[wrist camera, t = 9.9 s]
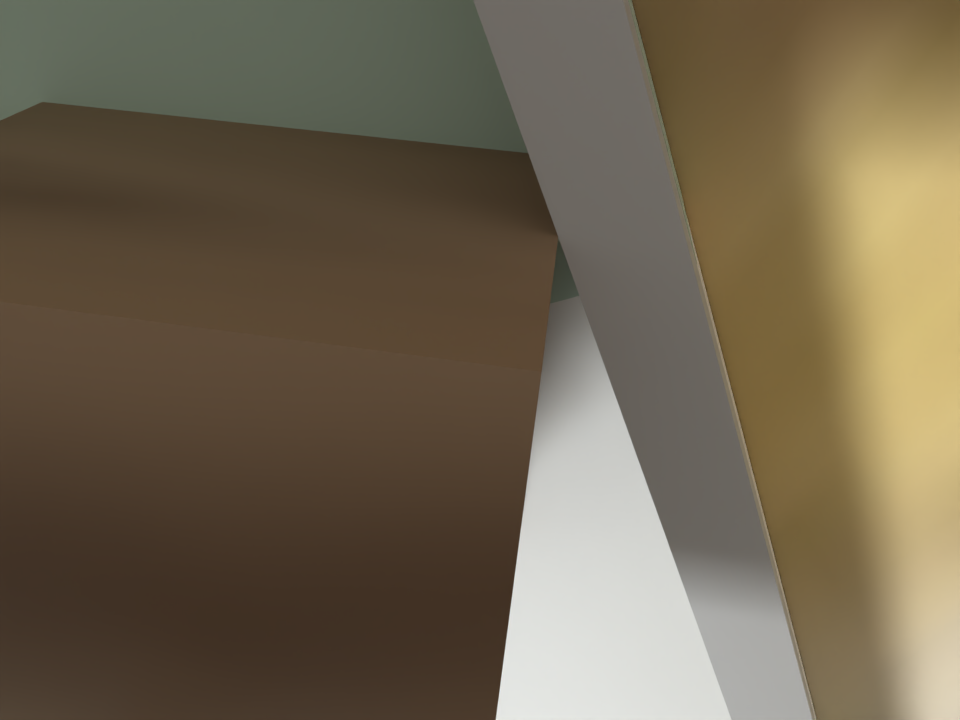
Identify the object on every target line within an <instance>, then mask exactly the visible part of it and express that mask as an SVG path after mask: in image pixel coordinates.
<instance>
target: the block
mask: <svg viewBox="0 0 960 720" xmlns="http://www.w3.org/2000/svg"><path fill="white" fill-rule="evenodd" d="M557 243H558V235H557V232H556V229H555V226H554V224H553V221H552V218H551V215H550V213H549V210H548V207H547V204H546V201H545V199H544V196H543V193H542V190H541V187H540V185H539V182H538V179H537V176H536V174H535V171H534V168H533V165H532V162H531V160H530V157H529V154H528V153H522V152H513V151H503V150H494V149H484V148H475V147H465V146H456V145H446V144H437V143H427V142H418V141H408V140H399V139H389V138H380V137H370V136H361V135H351V134H342V133H332V132H323V131H314V130H304V129H295V128H285V127H276V126H266V125H257V124H247V123H238V122H228V121H219V120H209V119H200V118H190V117H181V116H171V115H162V114H152V113H143V112H133V111H124V110H114V109H105V108H95V107H86V106H76V105H67V104H57V103H48V102H41V103H39V104H36V105H34V106H32V107H30V108H27V109H25V110H23V111H21V112H18V113H16V114H14V115H12V116H9V117H7V118H5V119H3V120H0V720H496V714H497V707H498V699H499V691H500V684H501V676H502V669H503V661H504V653H505V646H506V638H507V631H508V623H509V615H510V608H511V600H512V593H513V585H514V577H515V570H516V562H517V555H518V547H519V539H520V532H521V524H522V517H523V509H524V501H525V494H526V486H527V479H528V471H529V463H530V456H531V448H532V441H533V433H534V425H535V418H536V410H537V403H538V395H539V388H540V380H541V372H542V364H543V356H544V348H545V340H546V332H547V324H548V316H549V308H550V299H551V291H552V283H553V275H554V267H555V259H556V251H557Z"/></svg>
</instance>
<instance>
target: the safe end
mask: <svg viewBox="0 0 960 720" xmlns="http://www.w3.org/2000/svg"><path fill="white" fill-rule="evenodd" d="M628 2H629V6H630V9H631V13H632V17H633V21H634V25H635V29H636V33H637V36H638V40H639V44H640V48H641V52H642V56H643V59H644V63H645V67H646V71H647V75H648V79H649V83H650V86H651V90H652V94H653V98H654V102H655V106H656V109H657V113H658V117H659V121H660V125H661V129H662V133H663V136H664V140H665V144H666V148H667V152H668V156H669V159H670V163H671V167H672V171H673V175H674V179H675V183H676V186H677V190H678V194H679V198H680V202H681V206H682V209H683V213H684V217H685V221H686V225H687V229H688V233H689V236H690V240H691V244H692V248H693V252H694V247H693V243H692V238H691V234H690V229H689V225H688V220H687V216H686V211H685V207H684V202H683V198H682V194H681V190H680V186H679V182H678V178H677V174H676V171H675V167H674V163H673V159H672V155H671V151H670V147H669V143H668V139H667V136H666V132H665V128H664V124H663V120H662V116H661V112H660V108H659V105H658V101H657V97H656V93H655V89H654V85H653V81H652V77H651V74H650V70H649V66H648V62H647V58H646V54H645V50H644V46H643V43H642V39H641V35H640V31H639V27H638V23H637V19H636V15H635V11H634V8H633V4H632V0H628ZM41 102H48V103H57V104H67V105H76V106H86V107H95V108H105V109H114V110H124V111H133V112H143V113H152V114H162V115H171V116H181V117H190V118H200V119H209V120H219V121H228V122H238V123H247V124H257V125H266V126H276V127H285V128H295V129H304V130H314V131H323V132H332V133H342V134H351V135H361V136H370V137H380V138H389V139H399V140H408V141H418V142H427V143H437V144H446V145H456V146H465V147H475V148H484V149H494V150H503V151H513V152H522V153H528V151H527V148H526V146H525V143H524V140H523V137H522V135H521V132H520V129H519V126H518V123H517V121H516V118H515V115H514V112H513V109H512V107H511V104H510V101H509V98H508V95H507V93H506V90H505V87H504V84H503V82H502V79H501V76H500V73H499V70H498V68H497V65H496V62H495V59H494V56H493V54H492V51H491V48H490V45H489V43H488V40H487V37H486V34H485V31H484V29H483V26H482V23H481V20H480V17H479V15H478V12H477V9H476V6H475V4H474V1H473V0H0V120H3V119H5V118H7V117H9V116H12V115H14V114H16V113H18V112H21V111H23V110H25V109H27V108H30V107H32V106H34V105H36V104H39V103H41ZM694 256H695V252H694ZM695 259H696V256H695ZM696 263H697V261H696ZM577 296H579V293H578V291H577V288H576V285H575V282H574V279H573V277H572V274H571V271H570V268H569V265H568V263H567V260H566V257H565V254H564V252H563V249H562V246H561V243H560V240H559V238H558V243H557V251H556V259H555V267H554V275H553V283H552V291H551V299H550V304H551V303H554V302H558V301H562V300H565V299H569V298H573V297H577Z"/></svg>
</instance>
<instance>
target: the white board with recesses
mask: <svg viewBox="0 0 960 720" xmlns="http://www.w3.org/2000/svg"><path fill="white" fill-rule="evenodd" d="M473 1H474V4H475V6H476V9H477V12H478V15H479V17H480V20H481V23H482V26H483V29H484V31H485V34H486V37H487V40H488V43H489V45H490V48H491V51H492V54H493V56H494V59H495V62H496V65H497V68H498V70H499V73H500V76H501V79H502V82H503V84H504V87H505V90H506V93H507V95H508V98H509V101H510V104H511V107H512V109H513V112H514V115H515V118H516V121H517V123H518V126H519V129H520V132H521V135H522V137H523V140H524V143H525V146H526V148H527V151H528V154H529V157H530V160H531V162H532V165H533V168H534V171H535V174H536V176H537V179H538V182H539V185H540V187H541V190H542V193H543V196H544V199H545V201H546V204H547V207H548V210H549V213H550V215H551V218H552V221H553V224H554V226H555V229H556V232H557V235H558V238H559V240H560V243H561V246H562V249H563V252H564V254H565V257H566V260H567V263H568V265H569V268H570V271H571V274H572V277H573V279H574V282H575V285H576V288H577V291H578V293H579V296H577V297H573V298H569V299H565V300H562V301H558V302H554V303H551V304H550V308H549V316H548V324H547V332H546V340H545V348H544V356H543V364H542V372H541V380H540V388H539V395H538V403H537V410H536V418H535V425H534V433H533V441H532V448H531V456H530V463H529V471H528V479H527V486H526V494H525V501H524V509H523V517H522V524H521V532H520V539H519V547H518V555H517V562H516V570H515V577H514V585H513V593H512V600H511V608H510V615H509V623H508V631H507V638H506V646H505V653H504V661H503V669H502V676H501V684H500V691H499V699H498V707H497V714H496V720H817V719H816V715H815V711H814V707H813V703H812V699H811V695H810V691H809V688H808V684H807V680H806V676H805V672H804V668H803V664H802V660H801V657H800V653H799V649H798V645H797V641H796V637H795V633H794V629H793V626H792V622H791V618H790V614H789V610H788V606H787V602H786V598H785V595H784V591H783V587H782V583H781V579H780V575H779V571H778V567H777V564H776V560H775V556H774V552H773V548H772V544H771V540H770V536H769V533H768V529H767V525H766V521H765V517H764V513H763V509H762V505H761V502H760V498H759V494H758V490H757V486H756V482H755V478H754V474H753V471H752V467H751V463H750V459H749V455H748V451H747V447H746V443H745V440H744V436H743V432H742V428H741V424H740V420H739V416H738V412H737V409H736V405H735V401H734V397H733V393H732V389H731V385H730V381H729V378H728V374H727V370H726V366H725V362H724V358H723V354H722V350H721V347H720V343H719V339H718V335H717V331H716V327H715V323H714V319H713V316H712V312H711V308H710V304H709V300H708V296H707V292H706V288H705V285H704V281H703V277H702V273H701V269H700V265H699V261H698V257H697V254H696V250H695V246H694V242H693V238H692V234H691V230H690V234H691V238H692V243H693V247H694V252H695V256H696V259H695V256H694V252H693V248H692V244H691V240H690V236H689V233H688V229H687V225H686V221H685V217H684V213H683V209H682V206H681V202H680V198H679V194H678V190H677V186H676V183H675V179H674V175H673V171H672V167H671V163H670V159H669V156H668V152H667V148H666V144H665V140H664V136H663V133H662V129H661V125H660V121H659V117H658V113H657V109H656V106H655V102H654V98H653V94H652V90H651V86H650V83H649V79H648V75H647V71H646V67H645V63H644V59H643V56H642V52H641V48H640V44H639V40H638V36H637V33H636V29H635V25H634V21H633V17H632V13H631V9H630V6H629V2H628V0H473ZM686 216H687V215H686ZM687 220H688V219H687ZM688 225H689V223H688ZM689 229H690V226H689ZM696 261H697V263H696Z"/></svg>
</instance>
